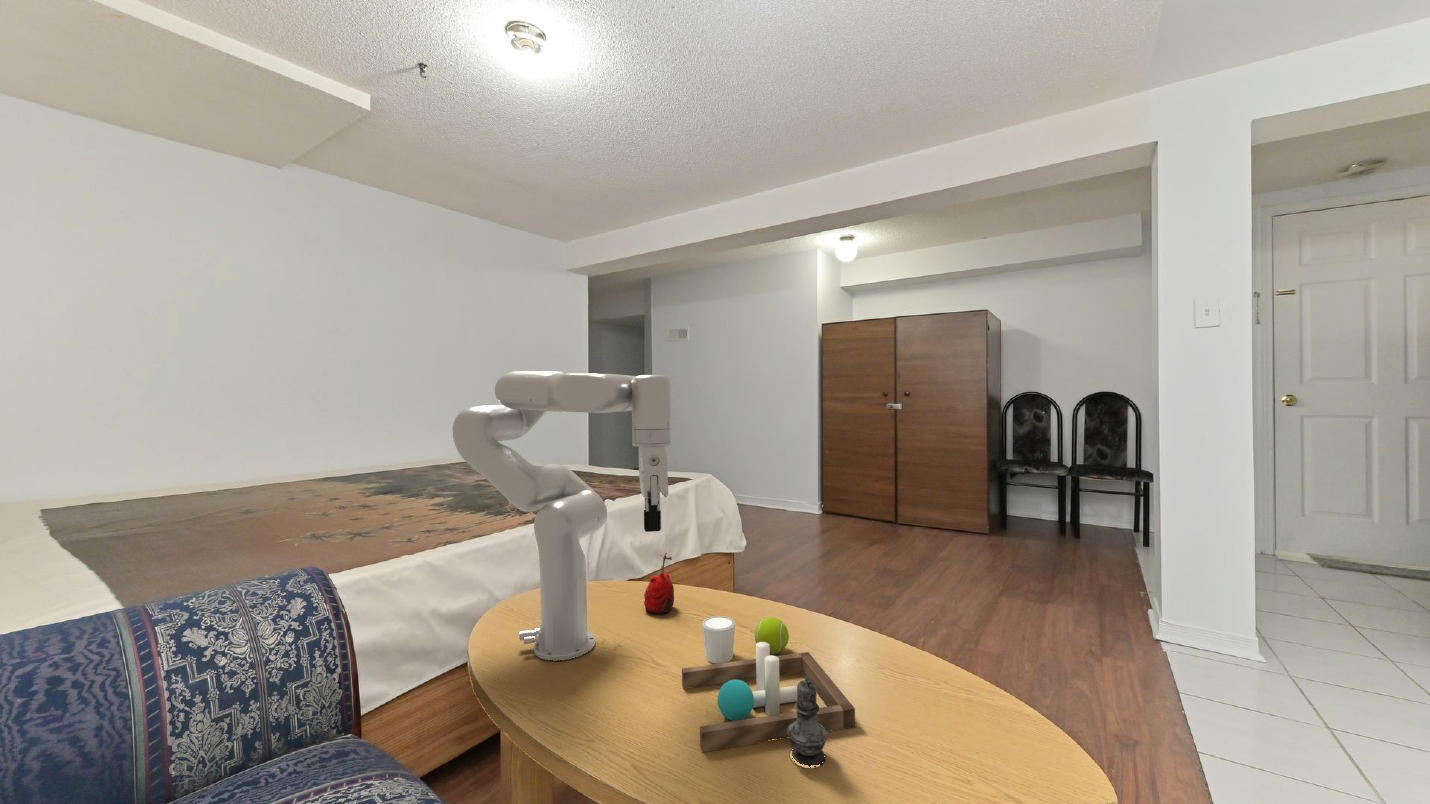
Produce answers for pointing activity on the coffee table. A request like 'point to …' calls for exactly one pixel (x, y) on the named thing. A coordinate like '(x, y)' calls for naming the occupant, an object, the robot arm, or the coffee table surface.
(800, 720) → the dark gray figurine
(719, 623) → the white cup
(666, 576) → the red rounded lumpy piece
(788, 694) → the pin front
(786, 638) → the tennis ball
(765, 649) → the pin
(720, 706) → the ball
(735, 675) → the bumper lane
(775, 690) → the pin
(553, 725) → the coffee table surface
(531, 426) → the robot arm
